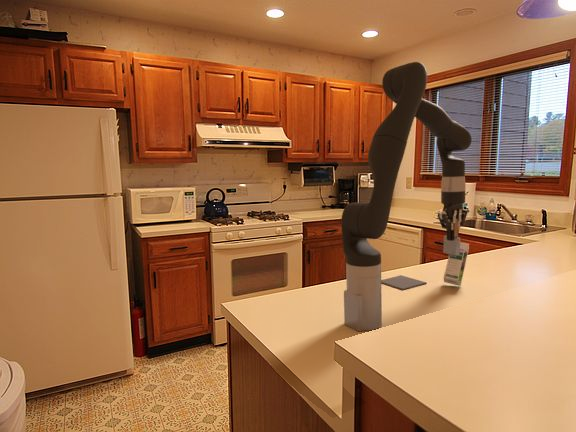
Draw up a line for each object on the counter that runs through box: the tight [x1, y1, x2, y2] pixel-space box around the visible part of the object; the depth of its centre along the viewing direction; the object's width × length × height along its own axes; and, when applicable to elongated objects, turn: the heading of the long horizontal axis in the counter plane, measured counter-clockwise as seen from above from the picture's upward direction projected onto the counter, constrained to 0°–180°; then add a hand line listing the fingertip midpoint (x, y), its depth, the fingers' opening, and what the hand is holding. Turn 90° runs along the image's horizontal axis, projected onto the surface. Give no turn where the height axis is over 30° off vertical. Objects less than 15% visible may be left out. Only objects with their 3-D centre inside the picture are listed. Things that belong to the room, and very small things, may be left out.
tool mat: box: [381, 275, 427, 291], centre depth 137 cm, size 12×12×1 cm
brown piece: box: [442, 220, 461, 256], centre depth 129 cm, size 2×5×12 cm, turn 30°
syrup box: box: [443, 241, 470, 287], centre depth 132 cm, size 6×6×14 cm
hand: (452, 239), depth 129 cm, fingers closed on brown piece, 2 cm apart
